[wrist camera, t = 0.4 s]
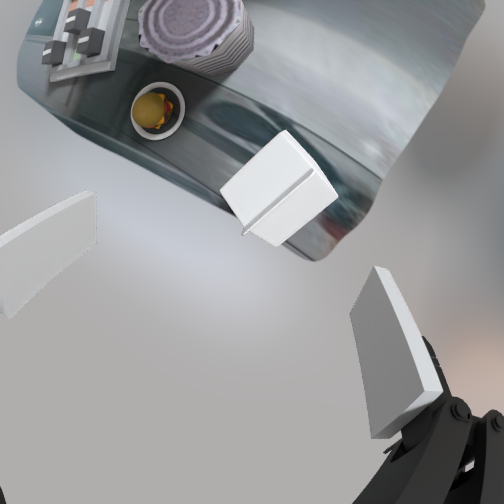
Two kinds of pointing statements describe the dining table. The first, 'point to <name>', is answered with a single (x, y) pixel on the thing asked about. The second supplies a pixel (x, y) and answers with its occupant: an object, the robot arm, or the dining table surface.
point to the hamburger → (155, 110)
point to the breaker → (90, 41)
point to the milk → (278, 190)
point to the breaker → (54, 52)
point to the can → (197, 33)
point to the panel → (102, 17)
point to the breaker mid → (77, 21)
